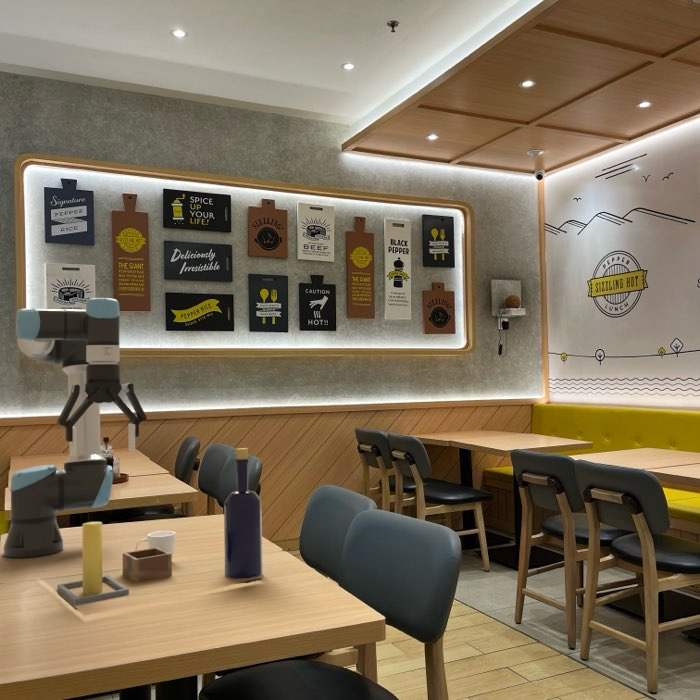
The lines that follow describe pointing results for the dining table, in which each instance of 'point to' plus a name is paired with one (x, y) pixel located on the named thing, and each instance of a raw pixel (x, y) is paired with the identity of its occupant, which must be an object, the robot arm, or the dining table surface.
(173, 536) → the cup
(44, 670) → the dining table surface
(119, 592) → the tray
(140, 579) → the holder
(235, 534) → the bottle
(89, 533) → the dowel
